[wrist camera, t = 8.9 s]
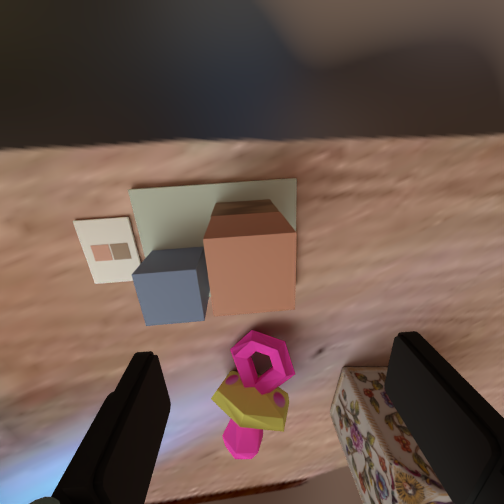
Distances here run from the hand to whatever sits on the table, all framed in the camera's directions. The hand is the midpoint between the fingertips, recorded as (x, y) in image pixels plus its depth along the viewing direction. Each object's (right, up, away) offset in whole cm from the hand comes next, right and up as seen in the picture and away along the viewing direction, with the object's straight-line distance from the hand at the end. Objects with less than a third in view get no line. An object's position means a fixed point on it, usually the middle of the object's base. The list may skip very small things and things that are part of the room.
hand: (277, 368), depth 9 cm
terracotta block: (-1, +5, +12) cm, 14 cm away
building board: (-5, +6, +19) cm, 21 cm away
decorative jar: (+19, -19, +32) cm, 41 cm away
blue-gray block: (-10, +2, +20) cm, 22 cm away
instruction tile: (-18, +5, +19) cm, 26 cm away
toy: (-1, -14, +28) cm, 31 cm away
